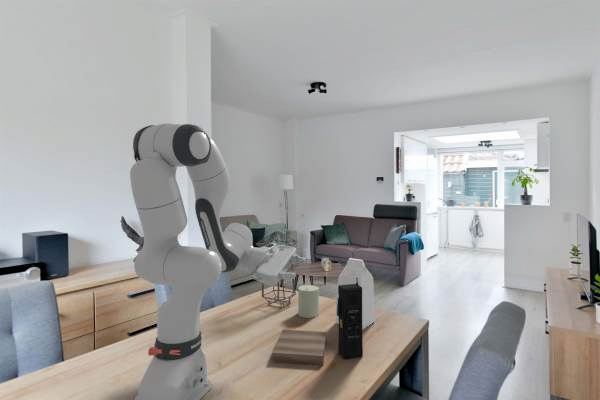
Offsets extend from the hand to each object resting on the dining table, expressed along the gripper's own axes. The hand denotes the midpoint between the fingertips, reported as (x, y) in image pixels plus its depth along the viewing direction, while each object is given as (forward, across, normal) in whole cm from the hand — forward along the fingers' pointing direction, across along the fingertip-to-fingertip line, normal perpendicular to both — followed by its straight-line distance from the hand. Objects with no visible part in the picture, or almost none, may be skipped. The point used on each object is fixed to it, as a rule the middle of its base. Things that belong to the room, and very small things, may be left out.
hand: (300, 268), depth 114 cm
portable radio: (+18, -4, +27) cm, 33 cm away
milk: (+15, +23, +36) cm, 45 cm away
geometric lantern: (-23, +31, +42) cm, 58 cm away
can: (-6, +25, +38) cm, 46 cm away
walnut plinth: (+2, -7, +28) cm, 29 cm away
